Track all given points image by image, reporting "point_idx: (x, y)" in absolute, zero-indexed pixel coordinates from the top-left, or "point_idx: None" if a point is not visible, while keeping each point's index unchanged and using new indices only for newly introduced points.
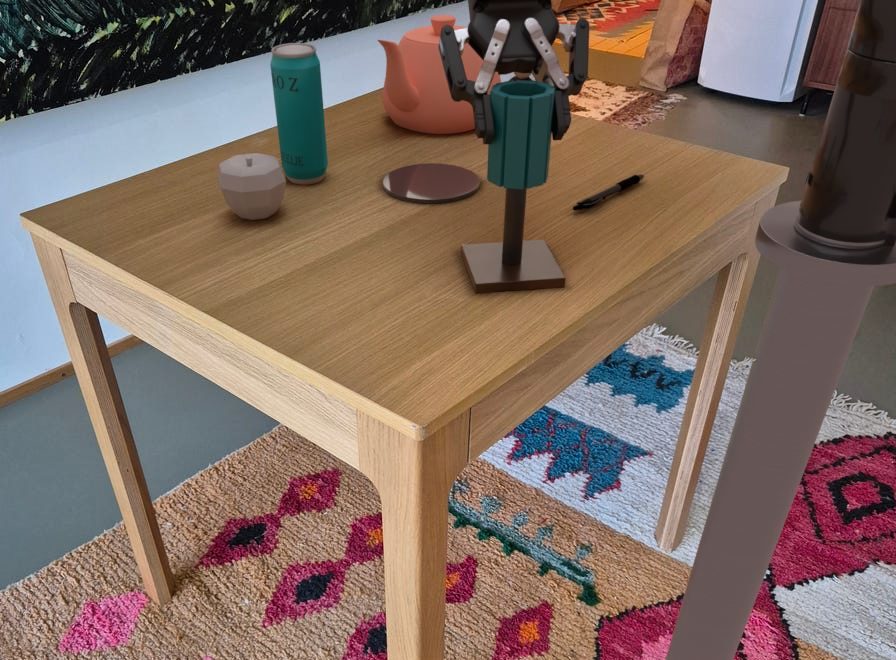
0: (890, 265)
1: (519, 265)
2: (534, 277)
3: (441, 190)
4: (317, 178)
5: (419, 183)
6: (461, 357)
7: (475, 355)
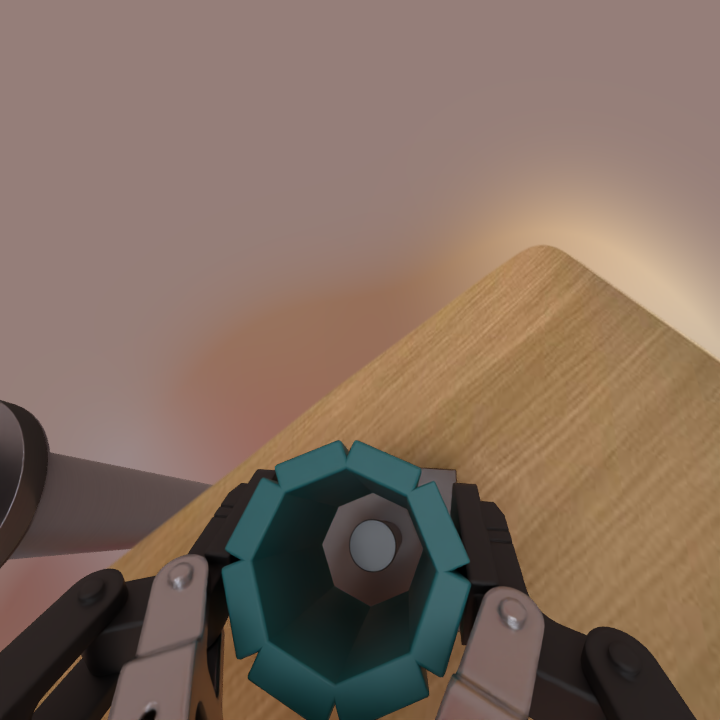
0: None
1: (378, 516)
2: None
3: None
4: None
5: None
6: (491, 328)
7: (475, 329)
